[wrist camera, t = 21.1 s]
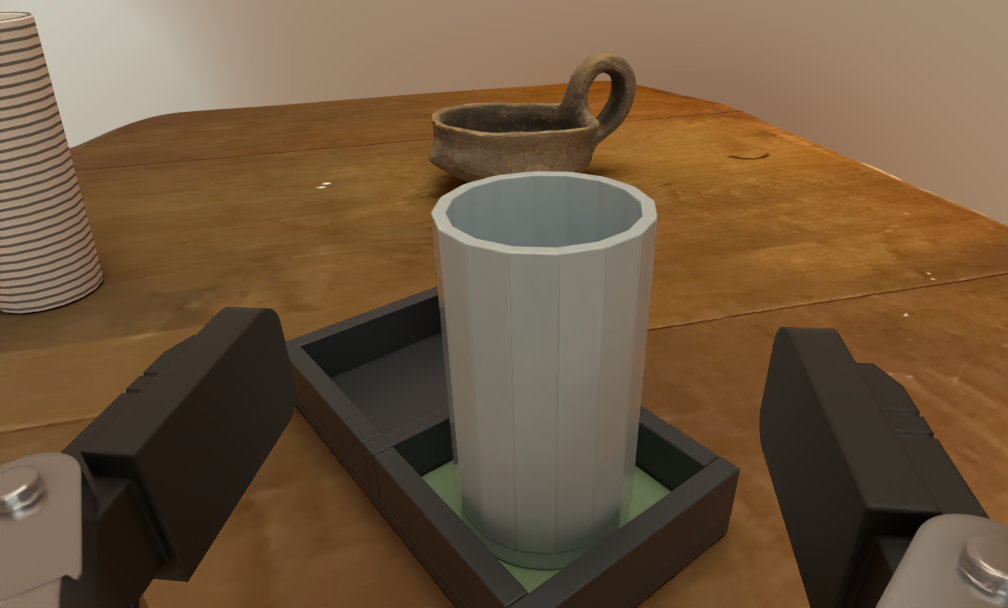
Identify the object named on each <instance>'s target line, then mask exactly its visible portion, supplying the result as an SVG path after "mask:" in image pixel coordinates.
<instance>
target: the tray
mask: <svg viewBox="0 0 1008 608" xmlns="http://www.w3.org/2000/svg"><path fill="white" fill-rule="evenodd" d="M285 343H286V347H287V351H288V355H289V359H290V363H291V368H292V372H293V376H294V380H295V384H296V403H295V405H296V406H297V408H298V409H299V410H300V412H301V413H302V414H303V415H304V417H305V418H306V419H307V420H308V422H309V423H310V424H311V425H312V427H313V428H314V429H315V430H316V432H317V433H318V434H319V435H320V437H321V438H322V439H323V440H324V442H325V443H326V444H327V445H328V447H329V448H330V449H331V450H332V452H333V453H334V454H335V455H336V457H337V458H338V459H339V460H340V462H341V463H342V464H343V465H344V467H345V468H346V469H347V470H348V472H349V473H350V474H351V476H352V477H353V478H354V479H355V481H356V482H357V483H358V484H359V486H360V487H361V488H362V489H363V491H364V492H365V493H366V494H367V496H368V497H369V498H370V499H371V501H372V502H373V503H374V504H375V506H376V507H377V508H378V509H379V511H380V512H381V513H382V514H383V516H384V517H385V518H386V519H387V521H388V522H389V523H390V524H391V526H392V527H393V528H394V529H395V531H396V532H397V533H398V534H399V536H400V537H401V538H402V540H403V541H404V542H405V543H406V545H407V546H408V547H409V548H410V550H411V551H412V552H413V553H414V555H415V556H416V557H417V558H418V560H419V561H420V562H421V563H422V565H423V566H424V567H425V568H426V570H427V571H428V572H429V573H430V575H431V576H432V577H433V578H434V580H435V581H436V582H437V583H438V585H439V586H440V587H441V588H442V590H443V591H444V592H445V593H446V595H447V596H448V597H449V598H450V600H451V601H452V602H453V604H454V605H455V606H456V607H457V608H635V607H636V606H637V605H638V604H639V603H641V602H642V601H643V600H644V599H646V598H647V597H648V596H649V595H650V594H652V593H653V592H654V591H655V590H657V589H658V588H659V587H660V586H661V585H663V584H664V583H665V582H666V581H668V580H669V579H670V578H671V577H672V576H674V575H675V574H676V573H677V572H679V571H680V570H681V569H682V568H683V567H685V566H686V565H687V564H688V563H690V562H691V561H692V560H693V559H694V558H696V557H697V556H698V555H699V554H701V553H702V552H703V551H704V550H705V549H707V548H708V547H709V546H710V545H712V544H713V543H714V542H715V541H717V540H718V539H719V538H720V537H721V536H723V535H724V534H725V533H726V532H727V530H728V525H729V520H730V516H731V512H732V507H733V502H734V497H735V492H736V487H737V482H738V477H739V472H740V469H739V468H738V467H736V466H735V465H733V464H731V463H730V462H728V461H727V460H725V459H724V458H722V457H719V456H718V455H717V454H715V453H714V452H712V451H711V450H709V449H707V448H706V447H704V446H703V445H701V444H700V443H698V442H697V441H695V440H693V439H692V438H690V437H689V436H687V435H686V434H684V433H682V432H681V431H679V430H678V429H676V428H675V427H673V426H672V425H670V424H668V423H667V422H665V421H664V420H662V419H661V418H659V417H657V416H656V415H654V414H653V413H651V412H650V411H648V410H647V409H645V408H643V407H642V406H640V417H639V428H638V439H637V450H636V461H635V472H634V482H633V493H632V501H631V504H630V512H629V517H628V521H627V523H626V524H625V525H624V526H622V527H621V528H619V529H618V530H617V531H615V532H614V533H612V534H611V535H610V536H608V537H607V538H605V539H604V540H603V541H601V542H600V543H598V544H597V545H596V546H594V547H593V548H591V549H590V550H589V551H587V552H586V553H584V554H583V555H582V556H580V557H579V558H577V559H576V560H575V561H573V562H572V563H570V564H569V565H568V566H566V567H565V568H562V569H551V570H544V569H531V568H525V567H521V566H517V565H513V564H510V563H508V562H505V561H503V560H500V559H499V558H497V557H495V556H494V555H493V554H492V552H491V551H490V550H489V549H488V548H487V547H486V546H485V545H484V544H483V543H482V542H481V541H480V540H479V538H478V537H477V536H476V535H475V534H474V533H473V532H472V531H471V530H470V529H469V528H468V527H467V526H466V524H465V523H464V522H463V521H462V518H461V515H460V510H459V501H458V494H457V490H456V483H455V472H454V461H453V450H452V439H451V428H450V418H449V407H448V396H447V385H446V374H445V363H444V352H443V341H442V330H441V320H440V309H439V298H438V287H434V288H432V289H429V290H426V291H423V292H421V293H418V294H415V295H412V296H410V297H407V298H404V299H401V300H399V301H396V302H393V303H390V304H388V305H385V306H382V307H380V308H377V309H374V310H371V311H369V312H366V313H363V314H360V315H358V316H355V317H352V318H349V319H347V320H344V321H341V322H338V323H336V324H333V325H330V326H327V327H325V328H322V329H319V330H316V331H314V332H311V333H308V334H305V335H303V336H300V337H297V338H294V339H292V340H289V341H286V342H285Z"/></svg>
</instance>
